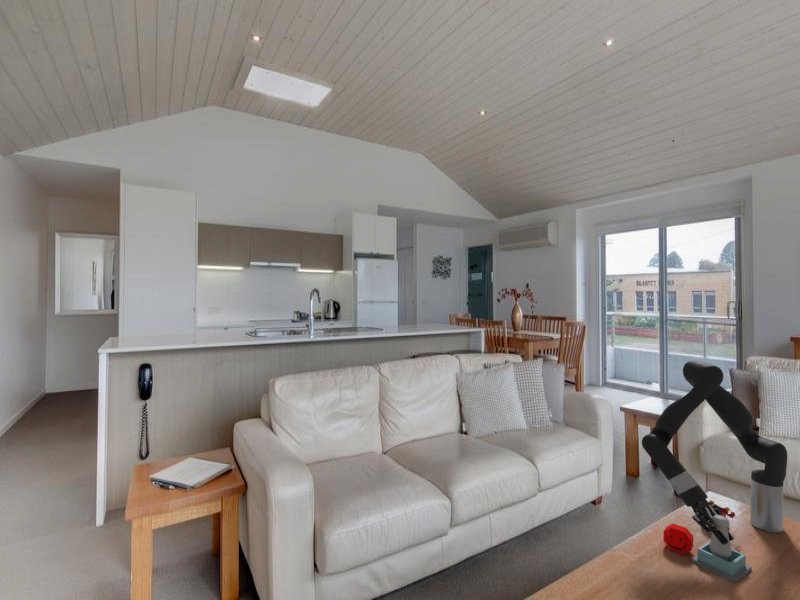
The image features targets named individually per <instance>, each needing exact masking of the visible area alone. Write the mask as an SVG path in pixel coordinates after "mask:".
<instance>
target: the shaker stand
mask: <svg viewBox="0 0 800 600" xmlns="http://www.w3.org/2000/svg"><path fill="white" fill-rule="evenodd" d="M710 541H711V539H710V540H708V541H707V542H706V543H704V544H702V545H700V546H699V547H697V550H696V551H697V553H696V554H695V555H694V556H692V557H691V562H692V563H694V564H696V565H698V566H700V567H702V568H704V569H706V570H708V571H710V572H712V573H715V574H716V575H718V576H720V577H722V578H724V579H727V580H728V581H730V582H732V583H737V582H738V581H739V580H740V579H742V578H743V577H745V576H746V575H747V574H748V573H750V572H751V571H752V568H753V566H751V565H748V564H747V562H746V560H747V556H746V554H744V553H742V552H739V551H737V550H735V549H733V548H731V551H732V554H731V556H730V557H729V558H728V559H727V561H726V560H724V559H722V558H719V557H717V556H715V555H713V554H712V552H711V550H710V547H709V545H710Z"/></svg>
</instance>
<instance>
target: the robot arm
mask: <svg viewBox="0 0 800 600" xmlns="http://www.w3.org/2000/svg"><path fill="white" fill-rule="evenodd" d="M682 375H683V377H684V379H685V380H686V382H687V383H689V384H690V385H691V386H692V388H691V390H690V391H688V393H686V394H685V395H684V396H682V397H680V398H678V399H677V400H674V401H673V402H672V403H670V404H669V405H668V406H666V407H665V409H664V410H663V411H662V412H661V414H660V416H659V418H657V420H656V422H655V425H654V427H653V428H652V430H651V431H650V432H649V434H646V435H644V436H643V437H642V439H641V446H642V448H643V450H644V451H645V452H646V453H647V455H648V456H649V457H650V458H651V459H652V461H653V462H654V463H655V464H656V465H657V466H658V468H659V470H660V471H661V473H662V474H663V476H664V477H665V478H666V479H667V480H668V482H669V484H670V485H671V487H672V489H673V490H674V492H675V493H676V494H677V495H678V497H679V498H680V500H681V501H682V502H683V503H684V505H685V506H686V507H687V508H691V509H692V511H693V513H694V515H692V516H691V518H692V519H693V521H695V522H696V523H697V524H698V525H699V526H700V527H701V528H702V529H703V530H704V531H705V532H707V533H714V535H715V536H716V537H717V538H718V540H719V541H720V542H721V543H722V544H723V545H724V544H727V543H728V542H729V541H728V540H727V538H726V537H725V536H724V535H723V533H722V532H721V531H720V530H719V528H718V527H717V525H716V524H715V523H714V519H713V516H715V515H721V516H723V515H722V513H721V511H720V509H719V507H720V506H719V505H718V506H719V507H718V506H717V504H716V503H714V504H715V505H711V504H710V503H709V502H710V501H708V498H709V496H708V495H707V493H706V492H705V491H704V490H703V488H702V487H701V486H700V484H699V483H698V482H697V481H696V479H695V478H694V477H693V476H692V475H691V474H690V473H689V472H688V471H687V469H686V468H685V467H684V466H683V464H682V463H681V462H680V460H679V459H677V458H676V457H675V456H674V453H672V452H671V450H670V449H669V447H668V446H669V445H670V443H671V442H672V440H673V437H674V436H675V435H676V434H678V432H679V430H680V428H681V427H683V426H682V425H684V423H685V422H686V420H687V419H688V418H689V417H690V415H691V414H692V413H693V412H695V410H697V408H698V407H699V406H700V405H702V404H703V402H704V401H706V403H708V405H709V406H710V407H711V409H712V410H713V411H714V412H715V413H716V415H717V416H718V418H720V420H721V421H722V422H723V423H724V424H725V425H726V426H727V428H728V429H729V430H730V431H731V432H732V434H733V435H734V436H735V437H736V439H737V440H738V442H739V443H740V445H741V447H742V448H743V450H744V451H745V452H746V454H747V455H748V457H750V458H751V459H753V460H755V461H757V462H759V463H762V464H764V469H753V470H752V471H751V472H750V473H751V476H750V517H749V518H750V520H749V521H750V523H751V525H752V526H754V527H756V528H757V529H760V530H762V531H765V532H768V533H769V532H770V533H773V534H776V533H777V534H778V533H779V534H780V533H782V532H783V526H784V521H783V520H784V481H785V479H786V478H787V477H786V476H787V468H788V467H787V466H788V451H787V448H786V446H785V445H784V444H782V443H781V442H777V441H775V440H771V439H768V438H765V437H763V436H761V435H759V434H758V433H757V432H756V430H755V429H754V428H753V421H754V420H753V419H754V418H753V414H752V413H751V412H750V410H748V409H749V408H747V407H746V405H744V403H743V402H742V401H741V400H740V399H739V398H737V396H735V395H734V394H732V393H731V392H729V391H728V389H726V388H724V387H723V386H722V385H721V384H722V383H723V381H724V373H723V371H722V369H721V368H720V367H719V366H717V365H714V364H711V363H709V362H705V361H703V360H696V359H693V360H689V361H687V362H686V363H685V364H684V366H683V368H682ZM708 520H709V521H708ZM711 524H712V525H713V526H712V525H711ZM705 525H706V526H707V527H708V528H707V527H706V526H705ZM718 530H719V531H718ZM728 535H729V540H730V542H731V541H733V540H734V539H735V538H734V536H733V535H732V533H731V532H730V531H729V530H728Z"/></svg>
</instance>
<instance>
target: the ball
mask: <svg viewBox="0 0 800 600" xmlns="http://www.w3.org/2000/svg"><path fill="white" fill-rule="evenodd" d="M662 538H663V543H665V545H666V546H667V548H669V550H670V549H671V550H670V551H673V552H676V553H679V554H681V555H684V554H687V553H691V551H692V550H693V547H694V535H693V534H692V533H691V531H689V529H688V528H687V527H686V526H684V525H683V526H682V525H680V524H676V523H670V524H669V525H667V526H665V528H664V530H663V537H662Z"/></svg>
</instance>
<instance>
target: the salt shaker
mask: <svg viewBox="0 0 800 600" xmlns="http://www.w3.org/2000/svg"><path fill="white" fill-rule="evenodd" d="M713 519H714V523H715V524H716V525H717V527H718V528H719V530H720V531H721V532H722V533H723V535H724V536H725V537H726V538H727V540H728V541H729V542H728V543H727V544H724V545H723V544H722V543H721V542H720V541H719V540H718V538H717V537H716V536H715V535H714V533H712V534H711V539H710V540H711V541H710V540H709V541H710V545H709V547H710V550H711V552H712V554H713V555H715V556H717V557H719V558H722V559H724V560H726V561H727V559H728V558H729V557H730V556H731V554H732V551H731V549H732V547H731V541H730V540H729V535H728V531H729V530H728V529H729V528H727V527H729V526H730V520H729V519H728V517H727V516H726V517H724V516H721V515H715V516H713ZM719 530H718V531H719Z"/></svg>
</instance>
